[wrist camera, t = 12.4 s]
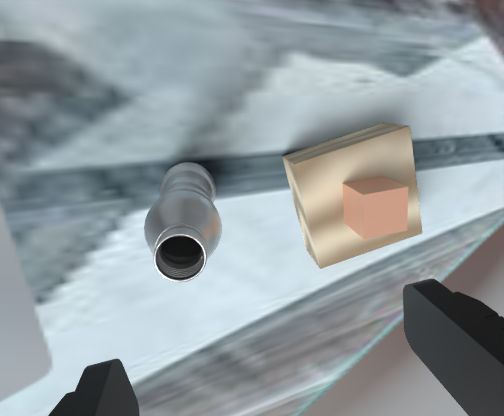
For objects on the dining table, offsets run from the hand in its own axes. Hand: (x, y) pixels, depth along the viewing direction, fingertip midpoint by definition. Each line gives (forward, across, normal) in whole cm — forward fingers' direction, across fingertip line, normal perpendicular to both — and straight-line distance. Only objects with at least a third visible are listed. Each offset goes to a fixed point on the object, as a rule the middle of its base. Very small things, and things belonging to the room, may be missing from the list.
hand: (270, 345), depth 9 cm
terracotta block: (+28, -16, +8) cm, 33 cm away
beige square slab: (+34, -16, +8) cm, 38 cm away
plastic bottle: (+33, +4, +3) cm, 34 cm away
